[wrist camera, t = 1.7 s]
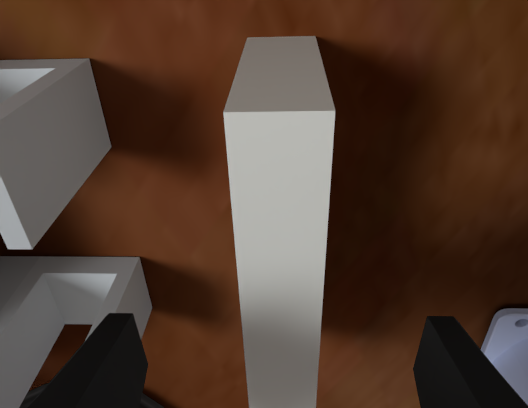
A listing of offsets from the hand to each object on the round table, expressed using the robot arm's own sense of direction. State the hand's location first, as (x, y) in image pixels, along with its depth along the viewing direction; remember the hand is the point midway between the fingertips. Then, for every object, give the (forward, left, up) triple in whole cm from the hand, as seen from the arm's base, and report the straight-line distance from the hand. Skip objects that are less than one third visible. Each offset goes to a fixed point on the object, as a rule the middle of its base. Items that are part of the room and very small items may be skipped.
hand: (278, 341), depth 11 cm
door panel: (0, 0, -6) cm, 6 cm away
